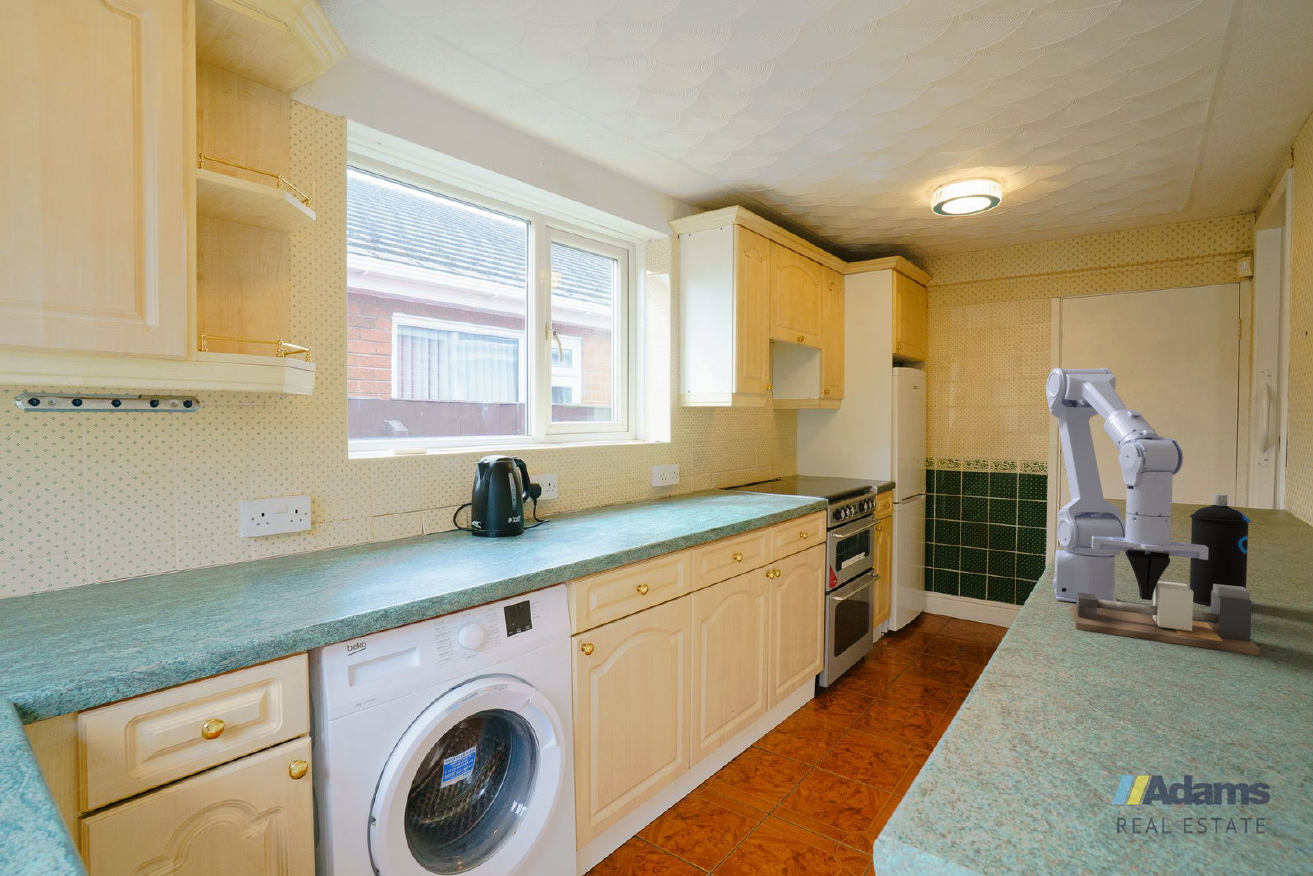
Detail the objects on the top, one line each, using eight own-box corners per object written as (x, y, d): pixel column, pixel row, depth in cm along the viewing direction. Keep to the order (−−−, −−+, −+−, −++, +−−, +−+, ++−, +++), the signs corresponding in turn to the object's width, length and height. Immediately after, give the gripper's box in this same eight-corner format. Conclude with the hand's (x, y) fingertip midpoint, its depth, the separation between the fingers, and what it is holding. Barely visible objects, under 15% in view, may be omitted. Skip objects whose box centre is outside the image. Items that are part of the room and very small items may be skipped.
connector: (1218, 637, 93) (1220, 590, 93) (1210, 627, 97) (1211, 582, 97) (1250, 641, 91) (1252, 593, 91) (1239, 631, 96) (1241, 585, 95)
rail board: (1076, 628, 100) (1076, 603, 99) (1071, 610, 109) (1071, 586, 109) (1259, 655, 89) (1260, 626, 88) (1236, 632, 98) (1237, 606, 98)
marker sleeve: (1158, 626, 97) (1159, 587, 96) (1152, 617, 101) (1153, 580, 101) (1192, 631, 95) (1193, 591, 94) (1184, 621, 99) (1185, 584, 99)
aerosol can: (1194, 605, 112) (1198, 495, 112) (1181, 594, 120) (1185, 491, 119) (1255, 612, 108) (1259, 498, 108) (1238, 600, 116) (1241, 493, 115)
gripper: (1095, 513, 99) (1093, 597, 100) (1214, 521, 92) (1211, 612, 92) (1091, 508, 105) (1089, 587, 106) (1202, 515, 98) (1200, 600, 98)
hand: (1145, 598), depth 99 cm, fingers closed
